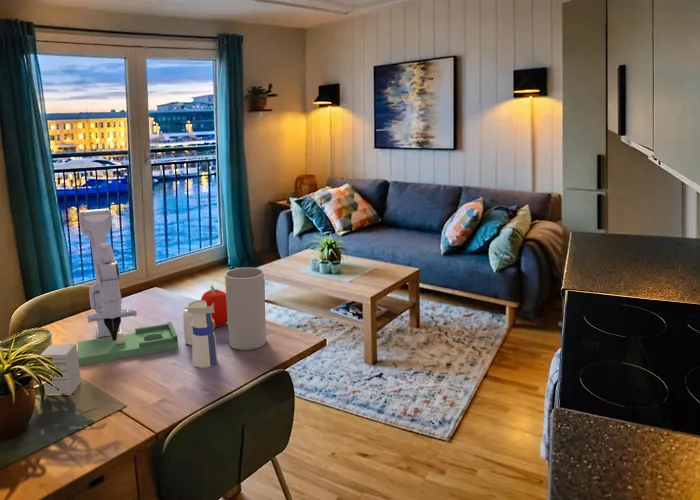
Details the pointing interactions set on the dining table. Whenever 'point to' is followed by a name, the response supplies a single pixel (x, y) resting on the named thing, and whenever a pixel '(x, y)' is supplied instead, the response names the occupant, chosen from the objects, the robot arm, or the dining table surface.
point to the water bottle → (203, 333)
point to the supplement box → (64, 368)
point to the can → (188, 326)
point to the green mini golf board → (129, 344)
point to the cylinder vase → (245, 308)
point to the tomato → (217, 306)
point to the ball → (120, 338)
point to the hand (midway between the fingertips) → (115, 339)
